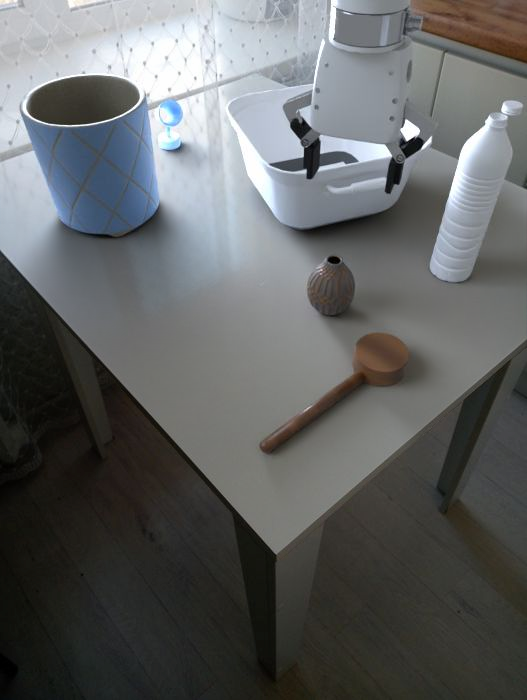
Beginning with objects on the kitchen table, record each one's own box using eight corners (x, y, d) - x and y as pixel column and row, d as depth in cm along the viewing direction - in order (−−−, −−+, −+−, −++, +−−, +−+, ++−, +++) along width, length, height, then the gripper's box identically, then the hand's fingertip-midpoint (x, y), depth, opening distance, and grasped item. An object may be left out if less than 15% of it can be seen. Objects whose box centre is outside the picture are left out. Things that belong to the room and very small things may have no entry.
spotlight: (188, 149, 114) (175, 135, 118) (183, 101, 107) (169, 87, 111) (166, 155, 113) (153, 141, 117) (159, 106, 105) (145, 93, 109)
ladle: (376, 339, 78) (379, 324, 76) (415, 368, 74) (419, 353, 72) (242, 434, 67) (241, 420, 65) (280, 473, 64) (281, 459, 62)
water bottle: (458, 289, 85) (512, 132, 66) (421, 271, 88) (462, 116, 69) (484, 262, 89) (541, 108, 71) (448, 245, 92) (494, 94, 74)
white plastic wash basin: (436, 234, 94) (458, 153, 83) (280, 271, 88) (282, 189, 77) (348, 143, 116) (356, 69, 105) (218, 167, 109) (212, 92, 99)
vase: (361, 305, 83) (369, 258, 76) (332, 329, 79) (338, 282, 73) (325, 284, 86) (330, 238, 79) (296, 307, 82) (298, 260, 76)
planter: (183, 195, 103) (169, 85, 88) (124, 253, 91) (96, 138, 76) (98, 173, 108) (72, 65, 93) (33, 225, 97) (-9, 112, 82)
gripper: (462, 21, 55) (427, 178, 67) (296, 5, 59) (293, 155, 72) (451, 47, 50) (416, 210, 63) (272, 27, 54) (273, 183, 67)
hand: (350, 180), depth 67 cm, fingers open, 9 cm apart
